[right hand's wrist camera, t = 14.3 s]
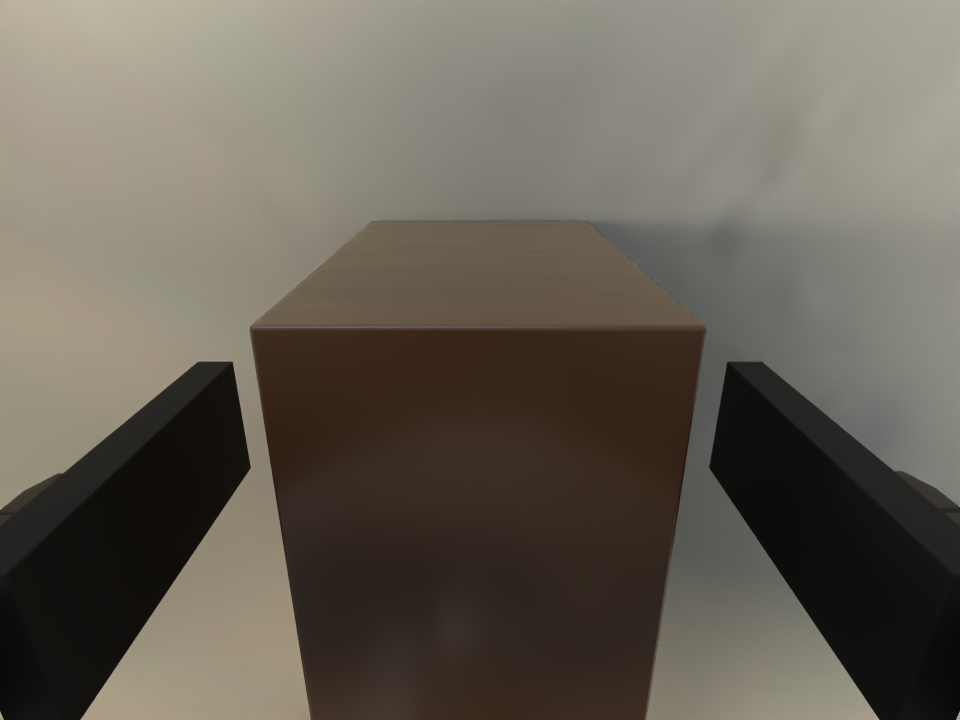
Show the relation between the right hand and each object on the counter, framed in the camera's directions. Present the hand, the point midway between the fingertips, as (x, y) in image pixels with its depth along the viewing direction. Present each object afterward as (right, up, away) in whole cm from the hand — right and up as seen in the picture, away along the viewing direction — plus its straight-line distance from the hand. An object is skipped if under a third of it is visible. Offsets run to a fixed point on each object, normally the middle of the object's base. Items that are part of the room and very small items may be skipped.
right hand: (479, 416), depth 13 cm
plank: (0, -10, +7) cm, 12 cm away
